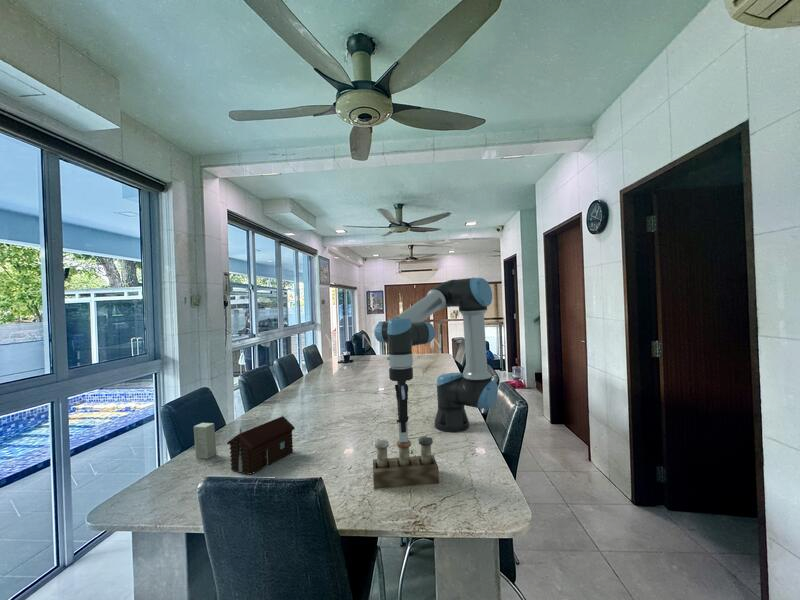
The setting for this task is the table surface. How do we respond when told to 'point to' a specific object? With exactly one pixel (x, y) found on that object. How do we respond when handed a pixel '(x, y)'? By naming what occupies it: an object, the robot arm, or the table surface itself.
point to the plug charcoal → (426, 450)
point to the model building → (261, 445)
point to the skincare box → (204, 440)
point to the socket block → (405, 473)
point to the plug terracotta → (404, 453)
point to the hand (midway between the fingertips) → (403, 441)
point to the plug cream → (382, 453)
